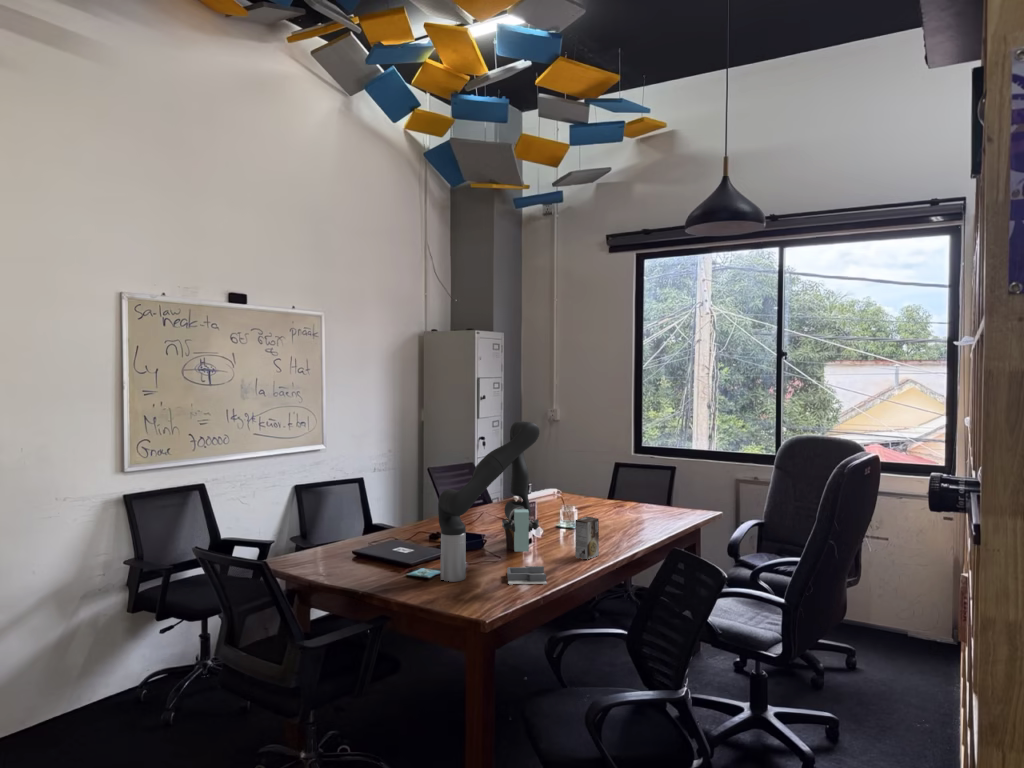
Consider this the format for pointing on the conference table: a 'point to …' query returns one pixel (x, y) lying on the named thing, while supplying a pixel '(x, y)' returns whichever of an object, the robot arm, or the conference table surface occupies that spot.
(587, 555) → the coffee box
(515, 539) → the teal post
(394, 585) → the conference table surface
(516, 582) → the keyhole guide
